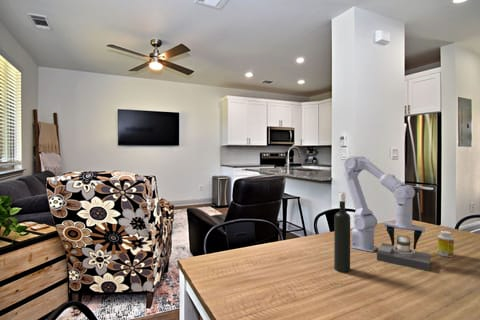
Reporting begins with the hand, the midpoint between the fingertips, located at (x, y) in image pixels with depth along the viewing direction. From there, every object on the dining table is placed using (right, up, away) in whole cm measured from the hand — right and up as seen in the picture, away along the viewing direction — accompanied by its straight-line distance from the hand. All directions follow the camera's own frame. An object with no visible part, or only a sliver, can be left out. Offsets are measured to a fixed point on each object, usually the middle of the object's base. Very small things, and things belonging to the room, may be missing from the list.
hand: (403, 246), depth 110 cm
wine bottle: (-29, -6, -8) cm, 31 cm away
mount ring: (0, -3, 0) cm, 3 cm away
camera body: (0, -6, 0) cm, 6 cm away
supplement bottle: (+22, -6, +6) cm, 24 cm away
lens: (0, -3, 0) cm, 3 cm away
